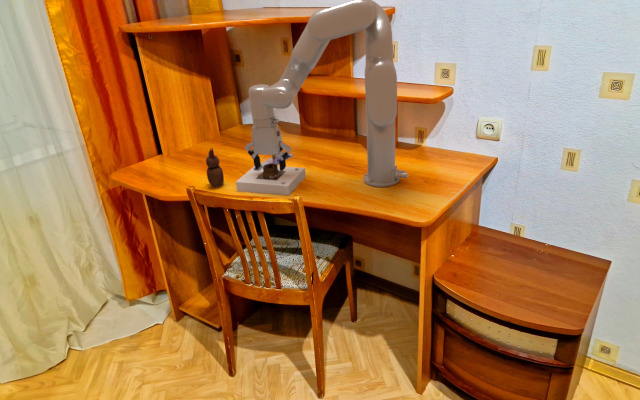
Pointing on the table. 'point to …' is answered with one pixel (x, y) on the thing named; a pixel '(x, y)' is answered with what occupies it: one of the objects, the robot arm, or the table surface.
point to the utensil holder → (270, 170)
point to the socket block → (271, 181)
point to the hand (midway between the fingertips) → (270, 168)
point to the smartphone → (276, 160)
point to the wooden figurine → (214, 170)
